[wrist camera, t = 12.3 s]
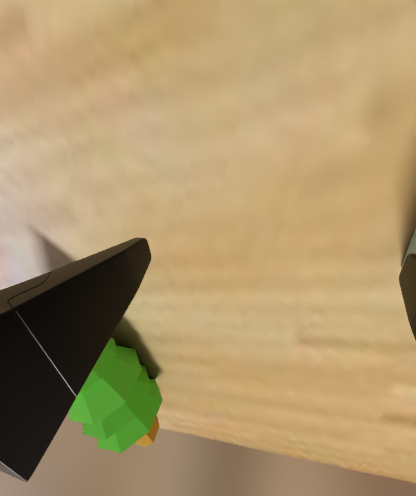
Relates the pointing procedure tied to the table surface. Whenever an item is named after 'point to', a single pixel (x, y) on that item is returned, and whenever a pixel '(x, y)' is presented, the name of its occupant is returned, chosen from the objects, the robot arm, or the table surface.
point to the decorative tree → (118, 401)
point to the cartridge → (411, 246)
